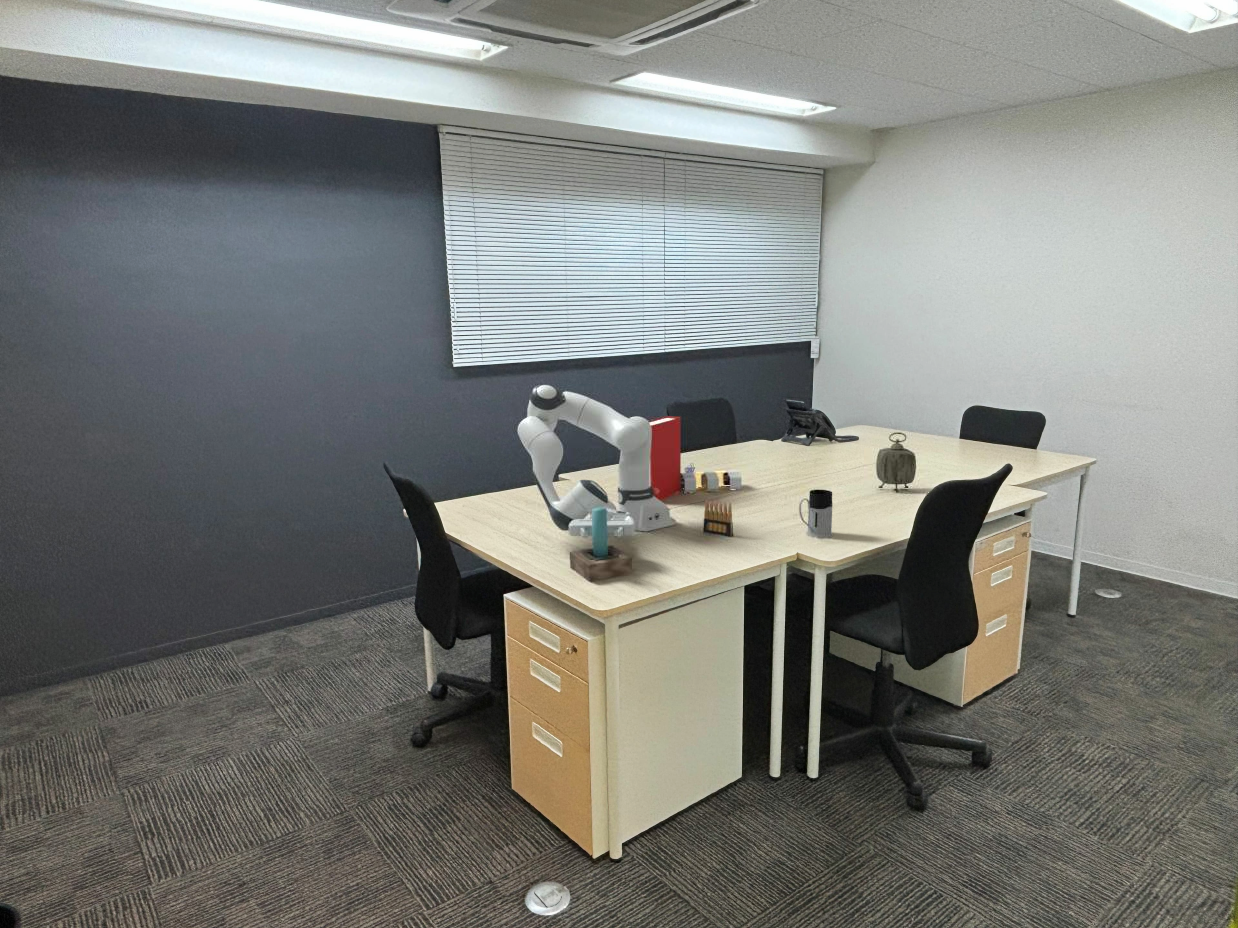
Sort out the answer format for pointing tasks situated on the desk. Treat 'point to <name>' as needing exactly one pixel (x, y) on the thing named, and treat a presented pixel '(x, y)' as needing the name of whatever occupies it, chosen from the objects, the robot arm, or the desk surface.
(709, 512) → the ammunition clip
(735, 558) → the desk surface
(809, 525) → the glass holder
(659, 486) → the book
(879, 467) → the tabletop clock
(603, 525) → the peg
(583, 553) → the socket block
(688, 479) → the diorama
